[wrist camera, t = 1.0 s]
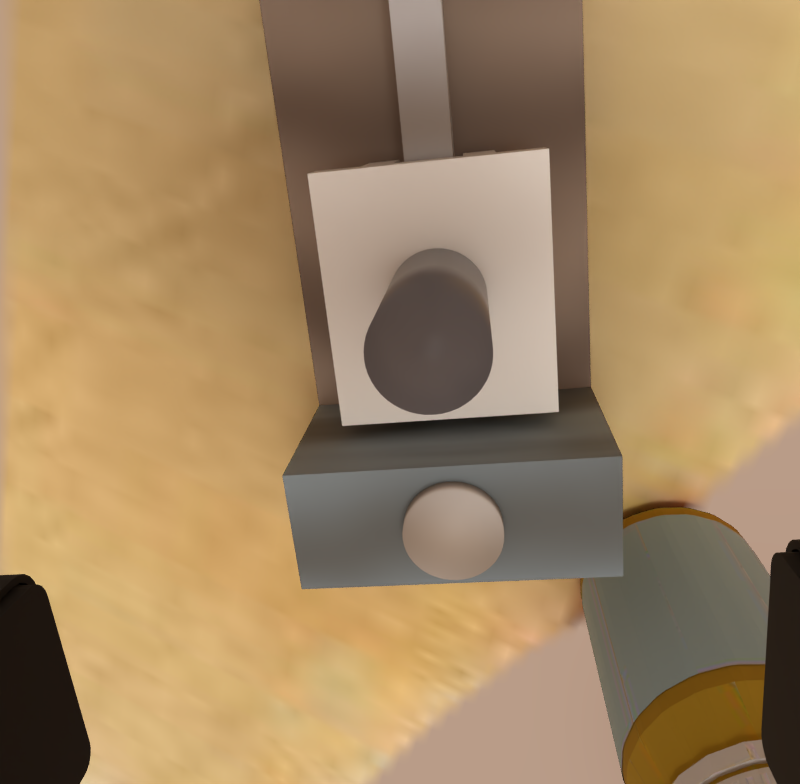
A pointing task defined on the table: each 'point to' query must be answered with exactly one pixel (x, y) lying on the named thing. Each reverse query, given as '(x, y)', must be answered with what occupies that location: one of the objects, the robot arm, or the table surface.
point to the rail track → (578, 408)
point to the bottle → (683, 650)
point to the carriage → (439, 286)
